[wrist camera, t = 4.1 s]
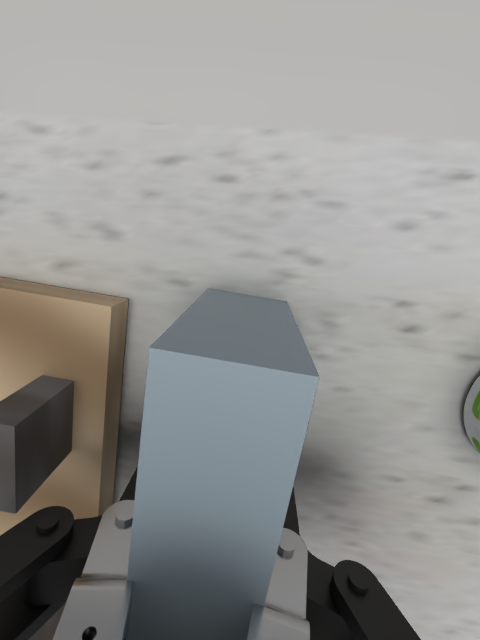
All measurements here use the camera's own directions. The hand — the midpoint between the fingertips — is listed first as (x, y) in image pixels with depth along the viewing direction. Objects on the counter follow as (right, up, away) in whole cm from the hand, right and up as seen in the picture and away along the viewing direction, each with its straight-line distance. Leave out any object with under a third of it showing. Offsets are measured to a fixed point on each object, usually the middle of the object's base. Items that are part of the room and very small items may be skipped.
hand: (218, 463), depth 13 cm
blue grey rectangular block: (0, 0, +1) cm, 1 cm away
